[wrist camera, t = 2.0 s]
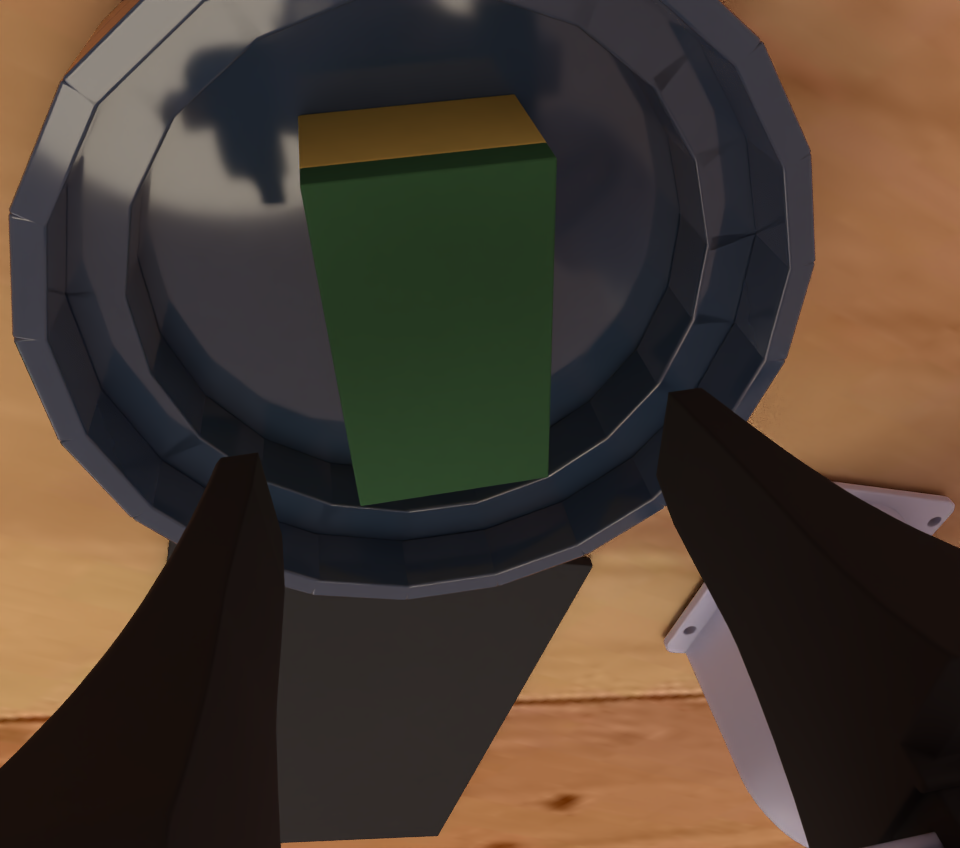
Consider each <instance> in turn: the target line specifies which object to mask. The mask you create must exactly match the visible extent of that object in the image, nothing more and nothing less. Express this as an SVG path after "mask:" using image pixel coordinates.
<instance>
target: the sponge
mask: <svg viewBox="0 0 960 848" xmlns="http://www.w3.org/2000/svg"><path fill="white" fill-rule="evenodd" d="M298 132H299V169H300V190H301V195H302V200H303V206H304V211H305V216H306V221H307V227H308V232H309V237H310V243H311V248H312V253H313V259H314V264H315V269H316V274H317V280H318V285H319V290H320V296H321V301H322V306H323V312H324V317H325V322H326V327H327V333H328V338H329V343H330V349H331V354H332V359H333V364H334V370H335V375H336V380H337V386H338V391H339V396H340V402H341V407H342V412H343V417H344V423H345V428H346V433H347V439H348V444H349V449H350V455H351V460H352V465H353V470H354V476H355V481H356V486H357V492H358V497H359V502H360V505H361V506H365V505H371V504H378V503H384V502H390V501H397V500H403V499H410V498H416V497H423V496H429V495H436V494H442V493H449V492H455V491H462V490H468V489H475V488H481V487H487V486H494V485H500V484H507V483H513V482H520V481H526V480H533V479H539V478H546V477H548V470H549V433H550V396H551V359H552V322H553V285H554V248H555V211H556V174H557V158H556V156H555V155H554V153H553V152H552V150H551V149H550V147H549V146H548V144H547V143H546V141H545V140H544V138H543V137H542V135H541V134H540V132H539V131H538V129H537V128H536V126H535V125H534V123H533V122H532V120H531V119H530V117H529V115H528V114H527V112H526V111H525V109H524V108H523V106H522V105H521V103H520V102H519V100H518V99H517V97H516V96H515V95H502V96H492V97H482V98H472V99H462V100H451V101H441V102H431V103H421V104H410V105H400V106H390V107H380V108H370V109H359V110H349V111H339V112H329V113H318V114H308V115H300V116H298Z"/></svg>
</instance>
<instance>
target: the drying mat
mask: <svg viewBox="0 0 960 848" xmlns="http://www.w3.org/2000/svg"><path fill="white" fill-rule="evenodd" d="M176 545H177V544H176V543H174V542H172V541H169V549H168V557H167V561H168V560H169V558H170V556H171V554H172V553H173V551H174V549H175V547H176ZM591 568H592V563H591V560H590V558H582V557H580V558H577V559H574V560H571V561H568V562H566V563H563V564H560V565H557V566H554V567H552V568H549V569H546V570H543V571H540V572H538V573H535V574H532V575H529V576H526V577H524V578H521V579H518V580H515V581H512V582H509V583H507V584H504V585H501V586H499V585H498V586H496V587H492V588H485V589H478V590H471V591H464V592H457V593H451V594H444V595H437V596H430V597H423V598H417V599H410V600H408V599H406V600H391V599H374V598H356V597H338V596H320V595H313V594H308V593H304V592H301V591H297V590H294V589H290V588H287V587H285V595H284V611H283V626H282V641H281V655H280V669H279V683H278V697H277V722H276V740H277V771H278V798H279V820H280V843H288V842H311V841H334V840H356V839H379V838H402V837H424V836H438V835H439V833H440V831H441V829H442V828H443V826H444V824H445V822H446V821H447V819H448V817H449V815H450V814H451V812H452V810H453V808H454V807H455V805H456V803H457V801H458V800H459V798H460V796H461V795H462V793H463V791H464V789H465V788H466V786H467V784H468V782H469V781H470V779H471V777H472V775H473V774H474V772H475V770H476V768H477V767H478V765H479V763H480V761H481V760H482V758H483V756H484V754H485V753H486V751H487V749H488V748H489V746H490V744H491V742H492V741H493V739H494V737H495V735H496V734H497V732H498V730H499V728H500V727H501V725H502V723H503V721H504V720H505V718H506V716H507V714H508V713H509V711H510V709H511V707H512V706H513V704H514V702H515V701H516V699H517V697H518V695H519V694H520V692H521V690H522V688H523V687H524V685H525V683H526V681H527V680H528V678H529V676H530V674H531V673H532V671H533V669H534V667H535V666H536V664H537V662H538V660H539V659H540V657H541V655H542V654H543V652H544V650H545V648H546V647H547V645H548V643H549V641H550V640H551V638H552V636H553V634H554V633H555V631H556V629H557V627H558V626H559V624H560V622H561V620H562V619H563V617H564V615H565V613H566V612H567V610H568V608H569V607H570V605H571V603H572V601H573V600H574V598H575V596H576V594H577V593H578V591H579V589H580V587H581V586H582V584H583V582H584V580H585V579H586V577H587V575H588V573H589V572H590V570H591Z"/></svg>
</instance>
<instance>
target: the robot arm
mask: <svg viewBox="0 0 960 848" xmlns="http://www.w3.org/2000/svg"><path fill="white" fill-rule="evenodd" d="M656 477H657V479H658V482H659V485H660V488H661V491H662V494H663V497H664V500H665V502H666V505H667V508H668V510H669V513H670V515H671V518H672V521H673V523H674V525H675V527H676V529H677V531H678V533H679V535H680V537H681V539H682V541H683V543H684V545H685V547H686V549H687V551H688V552H689V554H690V556H691V558H692V560H693V562H694V564H695V566H696V568H697V569H698V571H699V573H700V575H701V577H702V579H703V581H704V583H703V585H702V586H701V587H700V589H699V590H698V592H697V593H696V595H695V596H694V597H693V599H692V600H691V602H690V603H689V604H688V606H687V607H686V609H685V610H684V612H683V613H682V614H681V616H680V617H679V619H678V620H677V621H676V623H675V624H674V626H673V627H672V629H671V630H670V631H669V633H668V634H667V636H666V637H665V639H664V644H665V647H666V649H667V650H668V651H669V652H673V653H686V655H687V657H688V659H689V661H690V664H691V666H692V668H693V671H694V673H695V675H696V677H697V680H698V682H699V684H700V686H701V689H702V691H703V693H704V695H705V698H706V700H707V702H708V704H709V707H710V709H711V711H712V714H713V716H714V718H715V720H716V723H717V725H718V727H719V729H720V732H721V734H722V736H723V738H724V741H725V743H726V745H727V747H728V750H729V752H730V754H731V756H732V759H733V761H734V763H735V766H736V768H737V770H738V772H739V775H740V777H741V779H742V781H743V783H744V785H745V787H746V788H747V790H748V792H749V793H750V795H751V796H752V798H753V799H754V801H755V802H756V804H757V805H758V806H759V807H760V809H761V810H762V811H763V812H764V813H765V815H766V816H767V817H768V818H769V819H770V820H771V821H772V822H773V823H774V824H775V825H776V826H777V827H778V828H779V829H780V830H782V831H783V832H784V833H785V834H786V835H788V836H789V837H790V838H792V839H793V840H795V841H796V842H798V843H800V844H801V845H803V846H805V847H807V848H960V548H957V547H955V546H953V545H951V544H949V543H946V542H944V541H942V540H940V539H938V538H936V537H933V536H932V535H933V534H934V533H935V531H936V530H937V529H938V528H939V527H940V526H941V525H942V524H943V523H944V521H945V520H946V519H947V518H948V517H949V516H950V515H951V514H952V512H953V511H954V508H955V505H954V503H953V502H952V501H951V499H950V498H949V497H946V496H941V495H933V494H926V493H918V492H910V491H903V490H895V489H887V488H880V487H872V486H864V485H857V484H849V483H841V482H834V481H830V480H829V479H827V478H826V477H824V476H822V475H821V474H819V473H818V472H816V471H815V470H813V469H812V468H810V467H809V466H807V465H806V464H804V463H803V462H801V461H800V460H798V459H797V458H796V457H794V456H793V455H791V454H790V453H788V452H787V451H786V450H784V449H783V448H781V447H780V446H779V445H777V444H776V443H774V442H773V441H772V440H770V439H769V438H768V437H766V436H765V435H764V434H762V433H761V432H760V431H758V430H757V429H756V428H754V427H753V426H752V425H750V424H749V423H748V422H746V421H745V420H744V419H742V418H741V417H740V416H738V415H737V414H736V413H735V412H733V411H732V410H731V409H729V408H728V407H727V406H725V405H724V404H723V403H721V402H720V401H719V400H717V399H716V398H715V397H713V396H712V395H711V394H709V393H708V392H707V391H705V390H704V389H702V388H695V389H688V390H681V391H674V392H668V399H667V406H666V412H665V419H664V426H663V432H662V439H661V446H660V453H659V459H658V466H657V473H656ZM284 595H285V579H284V559H283V542H282V533H281V530H280V526H279V523H278V519H277V516H276V512H275V509H274V505H273V502H272V498H271V495H270V491H269V488H268V485H267V481H266V478H265V474H264V471H263V467H262V464H261V460H260V457H259V453H258V452H257V453H250V454H243V455H237V456H230V457H223V458H221V459H220V460H219V461H218V462H217V463H216V465H215V468H214V470H213V472H212V475H211V477H210V479H209V481H208V484H207V486H206V488H205V490H204V493H203V495H202V497H201V499H200V501H199V503H198V505H197V507H196V509H195V511H194V513H193V515H192V517H191V519H190V521H189V523H188V525H187V527H186V529H185V530H184V532H183V534H182V536H181V538H180V540H179V542H178V543H177V545H176V547H175V549H174V551H173V553H172V554H171V556H170V558H169V560H168V561H167V563H166V565H165V566H164V568H163V570H162V571H161V573H160V574H159V576H158V578H157V579H156V581H155V582H154V584H153V586H152V587H151V589H150V591H149V592H148V594H147V595H146V597H145V599H144V600H143V602H142V603H141V605H140V606H139V608H138V609H137V611H136V612H135V613H134V615H133V616H132V618H131V619H130V621H129V622H128V624H127V625H126V626H125V628H124V629H123V630H122V632H121V633H120V635H119V636H118V637H117V639H116V640H115V641H114V643H113V644H112V645H111V647H110V648H109V649H108V651H107V652H106V653H105V654H104V656H103V657H102V658H101V659H100V661H99V662H98V663H97V664H96V665H95V667H94V668H93V669H92V670H91V672H90V673H89V674H88V675H87V676H86V678H85V679H84V680H83V681H82V683H81V684H80V685H79V686H78V687H77V688H76V690H75V691H74V692H73V693H72V694H71V695H70V697H69V698H68V699H67V700H66V701H65V702H64V703H63V704H62V706H61V707H60V708H59V709H58V710H57V711H56V712H55V713H54V714H53V715H52V716H51V717H50V718H49V719H48V720H47V721H46V722H45V723H44V724H43V725H42V727H41V728H40V729H39V730H38V731H37V732H36V733H35V734H34V735H33V736H32V737H31V738H30V739H29V740H28V741H27V742H26V743H25V744H24V745H23V746H22V747H21V748H20V749H19V750H18V751H17V752H16V753H15V754H14V755H13V756H12V757H11V758H10V759H9V760H8V761H7V762H6V763H5V764H4V765H3V766H2V767H1V768H0V848H281V843H280V820H279V798H278V771H277V740H276V722H277V697H278V683H279V669H280V655H281V641H282V626H283V611H284Z"/></svg>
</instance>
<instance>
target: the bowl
mask: <svg viewBox="0 0 960 848" xmlns="http://www.w3.org/2000/svg"><path fill="white" fill-rule="evenodd" d="M502 95H515V96H516V97H517V99H518V100H519V102H520V103H521V105H522V106H523V108H524V109H525V111H526V112H527V114H528V115H529V117H530V119H531V120H532V122H533V123H534V125H535V126H536V128H537V129H538V131H539V132H540V134H541V135H542V137H543V138H544V140H545V141H546V143H547V144H548V146H549V147H550V149H551V150H552V152H553V153H554V155H555V156H556V158H557V174H556V211H555V248H554V285H553V322H552V359H551V396H550V433H549V470H548V477H546V478H539V479H533V480H526V481H520V482H513V483H507V484H500V485H494V486H487V487H481V488H475V489H468V490H462V491H455V492H449V493H442V494H436V495H429V496H423V497H416V498H410V499H403V500H397V501H390V502H384V503H378V504H371V505H365V506H361V505H360V502H359V497H358V492H357V486H356V481H355V476H354V470H353V465H352V460H351V455H350V449H349V444H348V439H347V433H346V428H345V423H344V417H343V412H342V407H341V402H340V396H339V391H338V386H337V380H336V375H335V370H334V364H333V359H332V354H331V349H330V343H329V338H328V333H327V327H326V322H325V317H324V312H323V306H322V301H321V296H320V290H319V285H318V280H317V274H316V269H315V264H314V259H313V253H312V248H311V243H310V237H309V232H308V227H307V221H306V216H305V211H304V206H303V200H302V195H301V190H300V169H299V132H298V116H300V115H308V114H318V113H329V112H339V111H349V110H359V109H370V108H380V107H390V106H400V105H410V104H421V103H431V102H441V101H451V100H462V99H472V98H482V97H492V96H502ZM810 152H811V150H810V148H809V145H808V143H807V141H806V139H805V136H804V134H803V132H802V129H801V127H800V125H799V123H798V120H797V118H796V116H795V113H794V111H793V109H792V107H791V104H790V102H789V100H788V98H787V95H786V93H785V91H784V88H783V86H782V84H781V82H780V79H779V77H778V75H777V72H776V70H775V68H774V66H773V63H772V61H771V59H770V57H769V54H768V52H767V50H766V47H765V45H764V43H763V42H761V41H760V39H759V37H758V36H757V35H756V34H755V33H754V32H753V31H752V30H751V29H749V28H748V27H747V26H746V25H745V24H744V23H743V22H742V21H741V20H740V19H739V18H738V17H737V16H736V15H735V14H734V13H733V12H731V11H730V10H729V9H728V8H727V7H726V6H725V5H724V4H723V3H722V2H721V1H720V0H123V1H122V2H121V3H120V4H119V5H118V6H117V7H116V8H115V9H114V10H113V11H112V12H111V13H110V14H109V15H108V16H107V17H106V18H105V19H104V20H103V21H102V22H101V23H100V25H99V26H98V27H97V29H96V30H95V32H94V33H93V35H92V36H91V37H90V39H89V40H88V42H87V43H86V45H85V46H84V48H83V49H82V50H81V52H80V53H79V55H78V56H77V57H76V59H75V60H74V62H73V63H72V65H71V66H70V67H69V69H68V70H67V72H66V73H65V75H64V76H63V78H62V79H61V81H60V83H59V85H58V88H57V90H56V93H55V95H54V98H53V100H52V103H51V105H50V108H49V110H48V113H47V115H46V118H45V120H44V123H43V125H42V128H41V131H40V133H39V136H38V138H37V141H36V143H35V146H34V148H33V151H32V153H31V156H30V158H29V161H28V163H27V166H26V168H25V171H24V173H23V176H22V178H21V181H20V183H19V186H18V188H17V191H16V193H15V196H14V198H13V201H12V203H11V206H10V208H9V211H10V214H9V244H10V275H11V306H12V334H13V337H14V342H15V344H16V346H17V348H18V351H19V353H20V355H21V357H22V360H23V362H24V364H25V366H26V369H27V371H28V373H29V375H30V378H31V380H32V382H33V384H34V386H35V389H36V391H37V393H38V395H39V398H40V400H41V402H42V404H43V407H44V409H45V411H46V413H47V416H48V418H49V420H50V422H51V425H52V427H53V429H54V431H55V433H56V436H57V438H58V440H59V441H60V443H61V445H62V446H63V447H64V448H65V449H66V450H67V451H68V452H69V453H70V454H71V455H72V456H73V457H74V458H75V459H76V460H77V461H78V462H79V463H80V465H81V466H82V467H83V468H84V469H85V470H86V471H87V472H88V473H89V474H90V475H91V476H92V477H93V478H94V479H95V480H96V481H97V482H98V483H99V484H100V486H101V487H102V488H103V489H104V490H105V491H106V492H107V493H108V494H109V495H110V496H111V497H112V498H113V499H114V500H115V501H116V502H117V503H118V504H119V506H120V507H121V508H122V509H123V510H124V511H125V512H126V513H127V514H128V515H129V516H130V517H133V519H134V520H136V521H137V522H139V523H141V524H143V525H144V526H146V527H148V528H150V529H151V530H153V531H155V532H156V533H158V534H160V535H162V536H163V537H165V538H167V539H169V540H170V541H172V542H174V543H176V544H177V543H178V542H179V540H180V538H181V536H182V534H183V532H184V530H185V529H186V527H187V525H188V523H189V521H190V519H191V517H192V515H193V513H194V511H195V509H196V507H197V505H198V503H199V501H200V499H201V497H202V495H203V493H204V490H205V488H206V486H207V484H208V481H209V479H210V477H211V475H212V472H213V470H214V468H215V465H216V463H217V462H218V461H219V460H220V459H221V458H223V457H230V456H237V455H243V454H250V453H257V452H258V453H259V457H260V460H261V464H262V467H263V471H264V474H265V478H266V481H267V485H268V488H269V491H270V495H271V498H272V502H273V505H274V509H275V512H276V516H277V519H278V523H279V526H280V530H281V533H282V542H283V559H284V579H285V587H287V588H290V589H294V590H297V591H301V592H304V593H308V594H313V595H320V596H338V597H356V598H374V599H391V600H406V599H408V600H410V599H417V598H423V597H430V596H437V595H444V594H451V593H457V592H464V591H471V590H478V589H485V588H492V587H496V586H498V585H499V586H501V585H504V584H507V583H509V582H512V581H515V580H518V579H521V578H524V577H526V576H529V575H532V574H535V573H538V572H540V571H543V570H546V569H549V568H552V567H554V566H557V565H560V564H563V563H566V562H568V561H571V560H574V559H577V558H580V557H582V556H584V554H589V553H590V552H592V551H594V550H595V549H597V548H599V547H600V546H602V545H604V544H605V543H607V542H608V541H610V540H612V539H613V538H615V537H617V536H618V535H620V534H622V533H623V532H625V531H627V530H628V529H630V528H632V527H633V526H635V525H637V524H638V523H640V522H642V521H643V520H645V519H647V518H648V517H650V516H651V515H653V514H655V513H656V512H658V511H660V510H661V509H663V508H664V506H667V505H666V502H665V500H664V497H663V494H662V491H661V488H660V485H659V482H658V479H657V477H656V473H657V466H658V459H659V453H660V446H661V439H662V432H663V426H664V419H665V412H666V406H667V399H668V392H674V391H681V390H688V389H695V388H702V389H704V390H705V391H707V392H708V393H709V394H711V395H712V396H713V397H715V398H716V399H717V400H719V401H720V402H721V403H723V404H724V405H725V406H727V407H728V408H729V409H731V410H732V411H733V412H735V413H736V414H737V415H738V416H740V417H741V418H742V419H744V420H745V421H746V422H747V420H748V419H749V417H750V416H751V414H752V413H753V411H754V409H755V408H756V406H757V405H758V403H759V402H760V400H761V399H762V397H763V395H764V394H765V392H766V391H767V389H768V388H769V386H770V384H771V383H772V381H773V380H774V378H775V377H776V375H777V374H778V372H779V370H780V369H781V367H782V366H783V364H784V363H785V359H786V358H787V356H788V352H789V349H790V345H791V342H792V339H793V335H794V332H795V329H796V325H797V322H798V318H799V315H800V312H801V308H802V305H803V302H804V298H805V295H806V292H807V288H808V285H809V281H810V278H811V275H812V271H813V268H814V261H815V239H814V214H813V189H812V164H811V154H810Z"/></svg>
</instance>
